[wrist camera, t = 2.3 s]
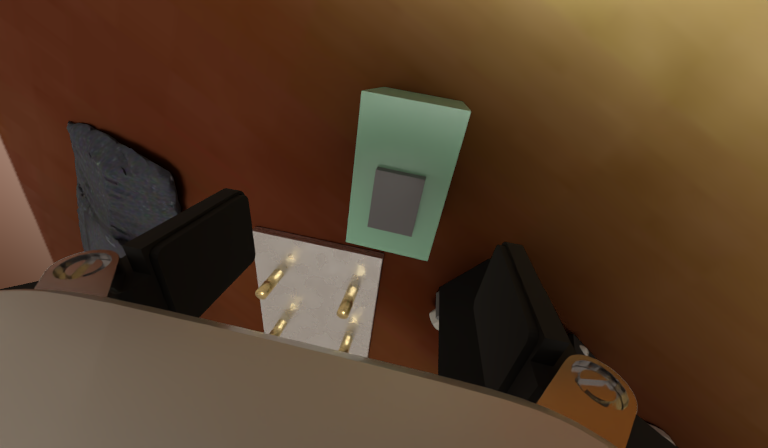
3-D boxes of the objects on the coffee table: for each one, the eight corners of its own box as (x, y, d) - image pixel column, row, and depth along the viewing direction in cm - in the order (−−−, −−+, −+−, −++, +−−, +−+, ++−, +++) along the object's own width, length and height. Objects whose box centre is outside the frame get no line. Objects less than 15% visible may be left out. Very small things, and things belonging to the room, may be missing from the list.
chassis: (384, 253, 28) (374, 281, 24) (367, 362, 37) (358, 395, 33) (256, 226, 30) (228, 248, 26) (269, 337, 38) (250, 366, 34)
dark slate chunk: (209, 173, 28) (169, 190, 24) (197, 307, 39) (168, 335, 35) (67, 106, 27) (1, 111, 23) (95, 262, 38) (53, 284, 34)
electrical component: (423, 296, 30) (398, 598, 13) (507, 247, 25) (650, 615, 8) (516, 386, 34) (596, 711, 17) (604, 358, 29) (840, 764, 12)
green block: (462, 101, 21) (472, 112, 14) (430, 217, 25) (427, 266, 19) (384, 86, 21) (358, 90, 14) (368, 203, 26) (343, 246, 19)
